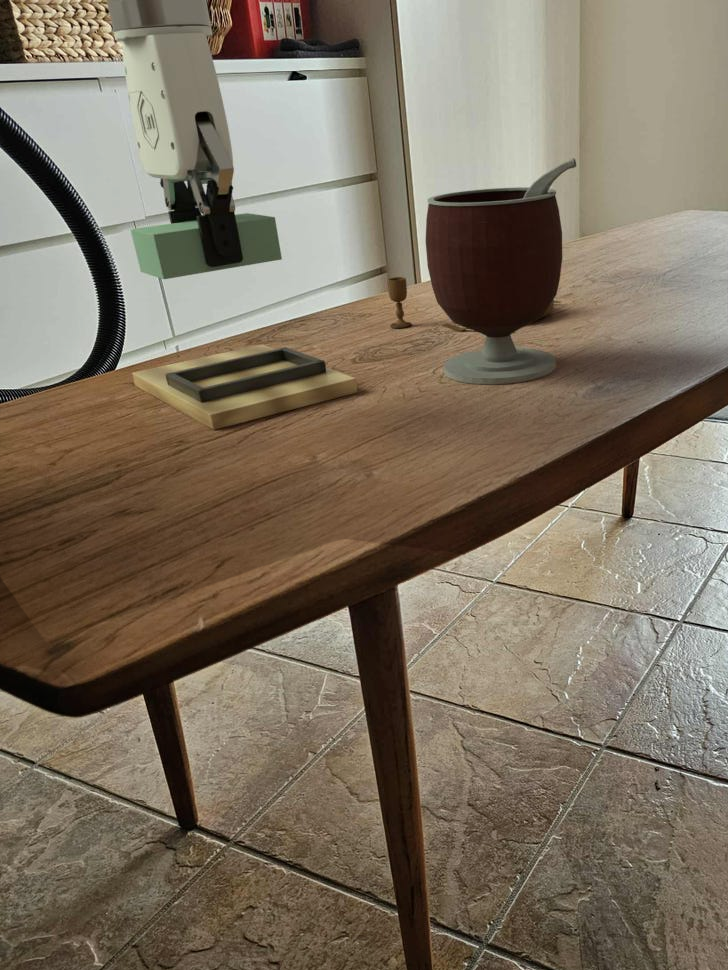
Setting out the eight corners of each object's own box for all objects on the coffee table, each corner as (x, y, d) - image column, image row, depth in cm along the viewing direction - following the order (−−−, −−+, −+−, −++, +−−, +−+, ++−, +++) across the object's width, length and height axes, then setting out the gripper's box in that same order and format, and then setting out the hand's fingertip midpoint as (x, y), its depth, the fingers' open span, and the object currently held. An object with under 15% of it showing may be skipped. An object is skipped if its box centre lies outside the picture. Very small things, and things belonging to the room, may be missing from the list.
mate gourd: (418, 384, 95) (397, 171, 84) (460, 350, 106) (447, 158, 95) (561, 389, 90) (558, 165, 80) (590, 353, 101) (591, 152, 91)
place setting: (529, 334, 110) (527, 283, 107) (385, 329, 117) (379, 281, 114) (571, 303, 124) (570, 257, 121) (439, 300, 131) (435, 257, 128)
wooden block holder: (213, 430, 86) (207, 402, 84) (135, 386, 101) (128, 361, 99) (357, 392, 93) (354, 366, 92) (264, 356, 109) (260, 334, 107)
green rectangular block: (163, 279, 76) (153, 234, 74) (140, 272, 80) (130, 229, 78) (282, 259, 81) (275, 216, 79) (254, 253, 85) (247, 212, 83)
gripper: (81, 27, 75) (138, 258, 84) (149, 6, 63) (207, 278, 72) (168, 24, 79) (213, 246, 88) (249, 4, 66) (291, 263, 76)
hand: (210, 258), depth 80 cm, fingers closed on green rectangular block, 6 cm apart
